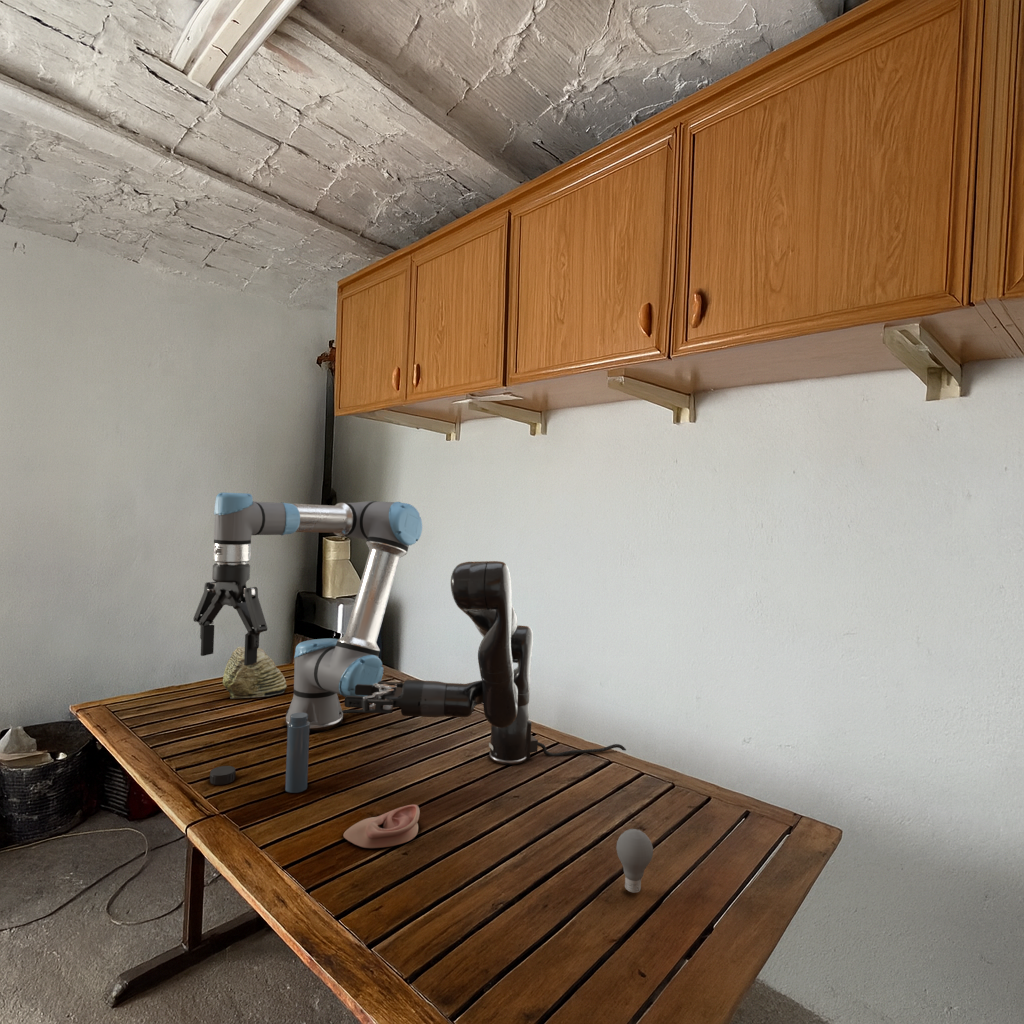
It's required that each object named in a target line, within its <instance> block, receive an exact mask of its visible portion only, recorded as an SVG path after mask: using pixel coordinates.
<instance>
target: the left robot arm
mask: <svg viewBox="0 0 1024 1024" xmlns="http://www.w3.org/2000/svg"><path fill="white" fill-rule="evenodd" d="M253 499H254V497H253V495H252V493H245V492H219V493H218V494H217V495H216V496H215V502H214V511H213V515H214V517H213V520H214V521H213V555H212V561H213V562H215V563H214V564H213V565H212V578H211V579H212V581H209V582H204V587H203V593H202V595H201V598H200V601H199V602H198V606H197V608H196V610H195V613H194V615H193V618H192V619H193V622H194V623H198V626H200V633H199V638H200V656H201V657H205V656H209V655H213V654H214V649H215V647H214V645H215V641H214V640H215V624H214V620H215V619H216V617H218V615H219V613H220V612H221V610H222V609H223V607H224V606H228V607H232V608H233V609H234V610H236V612H237V614H238V615H239V618H240V619H241V622H242V623H243V626H244V628H245V630H246V631H247V632H246V634H245V635H244V647H245V655H244V665H250V664H254V663H257V649H258V648H260V635H261V633H264V632H267V631H268V625H267V622H266V618H265V615H264V612H263V609H262V605H261V602H260V599H259V589H258V587H257V586H253V587H251V586H250V587H248V586H247V582H248V581H249V580H250V578H251V577H250V576H251V565H250V564H249V562H250V561H251V558H252V557H251V556H252V555H251V553H252V549H251V548H252V536H284V535H293V534H294V533H325V534H326V533H328V534H329V533H330V534H334V535H335V536H338V537H349V538H354V539H360V540H364V541H366V542H365V543H366V546H367V547H368V550H369V551H368V555H367V559H366V561H365V567H364V569H363V571H362V572H363V573H362V576H361V579H360V581H359V582H360V583H359V586H358V590H357V593H356V596H355V599H354V603H353V605H352V609H351V613H350V617H349V620H348V623H347V627H346V630H345V634H344V635H342V636H341V637H340V638H331V637H329V638H317V639H316V638H315V639H308V640H304V641H301V642H299V643H298V644H297V645H296V646H295V652H294V656H293V658H294V670H293V671H294V672H293V695H292V696H293V697H292V699H291V702H290V704H289V708H288V709H287V710H286V712H285V726H286V728H287V727H288V723H289V722H290V715H291V714H293V713H299V712H303V713H307V714H308V721H309V722H310V731H309V733H316V732H325V731H329V730H332V729H335V728H337V727H339V726H340V725H342V723H343V722H344V715H345V714H362V713H363V714H364V712H363V709H362V708H360V709H342V706H341V702H340V699H339V695H340V696H342V697H344V698H345V697H346V696H363V697H365V696H369V695H356V694H355V686H356V685H357V684H367V685H373V684H375V683H377V684H378V682H379V681H382V679H383V675H384V666H383V661H382V660H381V658H379V655H380V652H381V649H380V647H379V646H378V643H377V642H378V639H379V638H378V637H379V635H380V631H381V628H382V623H383V620H384V617H385V613H386V609H387V605H388V602H389V598H390V595H391V592H392V588H393V584H394V581H395V577H396V573H397V571H398V566H399V564H400V560H401V558H403V557H404V556H406V555H407V554H408V551H409V549H410V546H412V545H415V544H417V542H418V541H419V540H420V538H421V536H422V533H423V520H422V517H421V516H420V512H419V511H418V509H417V508H416V507H415V506H414V505H412V504H410V503H406V502H401V501H379V500H377V501H376V500H367V501H366V500H365V501H358V502H337V503H336V504H335V505H330V504H329V505H328V504H310V503H309V504H307V503H294V502H293V503H292V502H281V501H280V502H273V501H256V500H255V501H254V500H253Z"/></svg>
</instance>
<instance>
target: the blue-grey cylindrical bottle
mask: <svg viewBox="0 0 1024 1024" xmlns="http://www.w3.org/2000/svg"><path fill="white" fill-rule="evenodd" d="M286 728H287V730H286V754H285V755H286V757H285V759H286V760H285V781H284V782H285V784H284V785H285V786H284V790H285V792H287V793H290V794H299V793H302V792H304V791H306V790H307V789H308V784H309V783H308V780H309V779H308V778H309V777H308V776H309V757H310V756H309V755H310V753H309V752H310V732H309V731H310V722H309V721H308V714H307V713H303V712H299V713H293V714H291V715H290V722H289V723H288V727H287V726H286Z"/></svg>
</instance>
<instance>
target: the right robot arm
mask: <svg viewBox="0 0 1024 1024" xmlns="http://www.w3.org/2000/svg"><path fill="white" fill-rule="evenodd" d="M450 576H451V577H450V591H451V596H452V599H453V601H454V603H455V604H456V606H457V608H458V609H459V610H460V611H462V613H464V614H465V615H466V616H468V618H469V619H470V620H471V621H472V623H473V624H474V626H475V628H476V629H477V631H478V632H479V634H480V635H481V636H482V640H481V641H480V643H479V646H478V650H477V651H478V652H477V663H478V668H479V674H480V679H481V680H476V681H472V682H471V681H470V682H467V683H460V682H458V683H457V682H443V681H439V680H438V681H437V680H419V679H406V680H405V681H404V682H397V681H396V682H395V681H382V680H381V681H379V682H378V684H377V683H375V684H373V685H367V684H357V685H356V686H355V694H356V695H368V696H365V697H363V696H346V697H344V702H343V703H344V705H343V706H344V707H345V708H353V709H354V708H358V709H363V714H393V710H394V708H395V709H396V708H400V713H401V715H402V716H403V717H415V718H416V717H418V718H441V717H443V718H444V717H445V718H469V717H470V716H471V715H472V714H473V711H474V709H475V707H476V706H479V705H483V714H484V717H485V719H486V721H487V722H488V723H489V724H490V741H489V742H488V747H489V759H490V760H491V761H493V762H495V763H497V764H501V765H508V766H509V765H519V764H523V763H525V762H526V761H528V760H529V761H530V760H531V754H532V753H537V752H538V747H540V748H541V749H542V752H543V754H544V755H545V756H547V757H563V756H568V755H576V754H577V755H578V754H594V753H595V754H596V753H603V752H606V751H609V750H612V749H617V748H618V749H620V750H622V751H627V749H626V747H625V746H623V745H622V744H619V743H614V744H611V745H608V746H605V747H601V748H590V749H589V748H588V749H573V750H566V751H562V752H557V753H554V752H549V751H547V747H546V745H545V744H544V743H542V742H539V741H538V739H537V738H536V737H535V736H533V735H532V721H531V719H529V718H530V717H529V716H530V693H531V692H530V691H531V674H532V673H531V671H532V657H533V650H534V649H533V648H534V632H533V629H532V627H530V626H528V625H520V624H519V625H518V615H517V612H516V610H515V608H514V605H513V603H512V602H513V600H512V599H513V598H512V597H513V595H512V594H513V593H512V592H513V591H512V590H513V589H512V578H511V573H510V569H509V567H508V565H507V563H505V562H504V561H498V560H478V561H477V560H476V561H475V560H473V561H464V562H461V563H459V564H457V565H456V566H454V569H453V571H452V573H451V575H450ZM514 664H517V666H516V667H515V668H514Z"/></svg>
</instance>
